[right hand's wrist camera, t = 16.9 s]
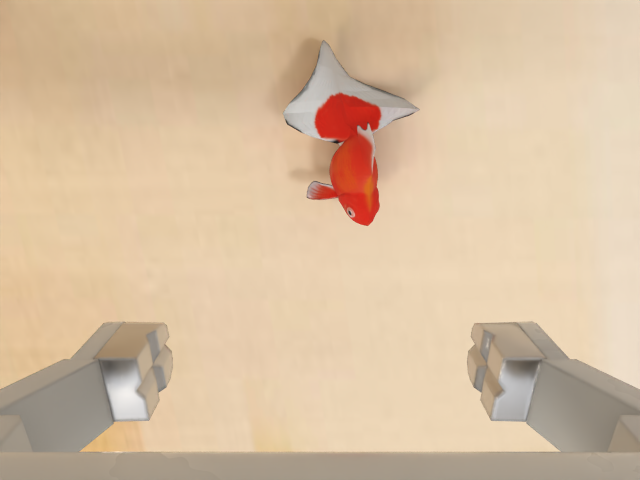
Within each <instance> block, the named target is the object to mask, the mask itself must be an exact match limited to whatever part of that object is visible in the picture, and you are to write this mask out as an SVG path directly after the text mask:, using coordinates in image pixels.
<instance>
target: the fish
mask: <svg viewBox="0 0 640 480" xmlns="http://www.w3.org/2000/svg"><path fill="white" fill-rule="evenodd" d="M418 110H420V109H418V108H417V107H415V106H414V105H413V104H411V103H410V102H408V101H407V100H405V99H404V98H401V97H398V96H396V95H393V94H391V93H388V92H385V91H383V90H380V89H377V88H374V87H372V86H369V85H366V84H364V83H362V82H360V81H357V80H355V79H353V78H351V77H350V76H349V75H348V74H347V73H346V71H345V70H344V69H343V67H342V66H341V65H340V63H339V62H338V61H337V59H336V57H335V55H334V53H333V51H332V49H331V48H330V46H329V45H328V44H327V43H326V42H325V41H324V40H323V42H322V44H321V47H320V51H319V56H318V61H317V65H316V67H315V70H314V72H313V74H312V76H311V78H310V79H309V81H308V82H307V84H306V85H305V86H304V88H303V89H302V91H301V92H300V93H299V94H298V95H297V96H296V97H295V98H294V99H293V100H292V101H291V102H290V103H289V105H288V106H287V108H286V109H285V111H284V112H283V115H284V118H285V120H286V123H287V125H289V126H291V127H293V128H294V129H296V130H298V131H300V132H302V133H304V134H306V135H309V136H311V137H315V138H318V139H322V140H325V141H329V142H333V143H337V144H339V146H340V147H339V149H338V150H337V151H336V153H335V154H334V156H333V158H332V160H331V164H330V178H331V183H332V185H329V184H323V183H320V182H317V181H313V182H312V183H311V184H310V186H309V187H308V191H307V198H309V199H317V200H325V199H332V198H339V202H340V203H341V205H342V206H343V208H344V210H345V211H346V213H347V214H348V216H349V217H350V218H351V219H352V220H353V221H355V222H357V223H359V224H361V225H366V226H368V225H369V224H370V223H371V222H372V221H373V219H374V217H375V215H376V213H377V212H378V210H379V207H380V204H379V193H378V189H377V179H378V170H377V164H376V160H375V157H374V154H375V149H376V148H375V142H374V137H373V133H375V132H376V131H378V130H379V129H381V128H383V127H385V126H386V125H388V124H389V123H391V122H392V121H393V120H396V119H400V118H403V117H406V116H409V115H411V114H413V113H415V112H416V111H418Z"/></svg>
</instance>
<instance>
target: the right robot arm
mask: <svg viewBox="0 0 640 480" xmlns="http://www.w3.org/2000/svg"><path fill="white" fill-rule="evenodd" d="M168 338H169V333H168V328H167V325H166V324H165V323H155V322H106V323H103V324H102V325H101V326H100V328H99V329H98V330H97V331H96V332H95V333H94V334H93V335H92V336H91V337H90V338H89V339H88V340H87V342H86V343H85V344H84V345H83V346H82V347H81V348H80V349H79V350H78V351H77V352H76V353H75V354H74V356H73V357H72V358H71V359H63V360H61V361H59V362H57V363H55V364H53V365H51V366H49V367H47V368H44V369H42V370H40V371H38V372H36V373H34V374H32V375H30V376H28V377H25V378H23V379H21V380H19V381H17V382H15V383H13V384H11V385H9V386H6V387H4V388H2V389H0V480H640V389H638V388H635V387H633V386H631V385H629V384H627V383H625V382H623V381H621V380H619V379H617V378H614V377H612V376H610V375H608V374H606V373H604V372H602V371H600V370H598V369H596V368H593V367H591V366H589V365H587V364H585V363H583V362H581V361H579V360H577V359H569V358H568V357H567V356H566V354H565V353H564V352H563V351H562V350H561V349H560V348H559V347H558V346H557V345H556V344H555V343H554V342H553V340H552V339H551V338H550V337H549V336H548V335H547V334H546V333H545V332H544V331H543V330H542V329H541V328H540V326H539V325H538V324H537V323H534V322H509V323H475V324H474V326H473V328H472V332H471V338H472V340H473V341H474V343H475V345H474V346H473V347H472V348H471V349H470V350H469V351H468V358H467V367H468V374H469V377H470V381H471V383H472V385H473V387H474V388H476V389H477V390H478V391H480V392H481V393H482V394H481V402H482V404H483V406H484V408H485V410H486V412H487V414H488V416H489V418H490V420H491V421H522V422H526V423H527V424H528V425H529V426H530V427H532V428H533V429H534V430H535V431H536V432H538V433H539V434H540V435H541V436H543V437H544V438H545V439H546V440H547V441H549V442H550V443H551V444H552V445H554V446H555V447H556V448H557V449H559V450H560V451H561V452H79V451H80V450H82V449H83V448H84V447H85V446H87V445H88V444H89V443H90V442H91V441H93V440H94V439H95V438H96V437H98V436H99V435H100V434H101V433H103V432H104V431H105V430H106V429H107V428H109V427H110V426H111V425H112V424H113V423H114V422H117V421H149V420H150V418H151V416H152V414H153V412H154V410H155V408H156V406H157V404H158V402H159V394H158V393H159V392H160V391H162V390H163V389H164V388H166V387H167V385H168V383H169V380H170V378H171V373H172V369H173V357H172V351H171V350H170V349H169V348H168V347H167V346H166V345H165V343H166V341H167V340H168Z"/></svg>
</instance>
